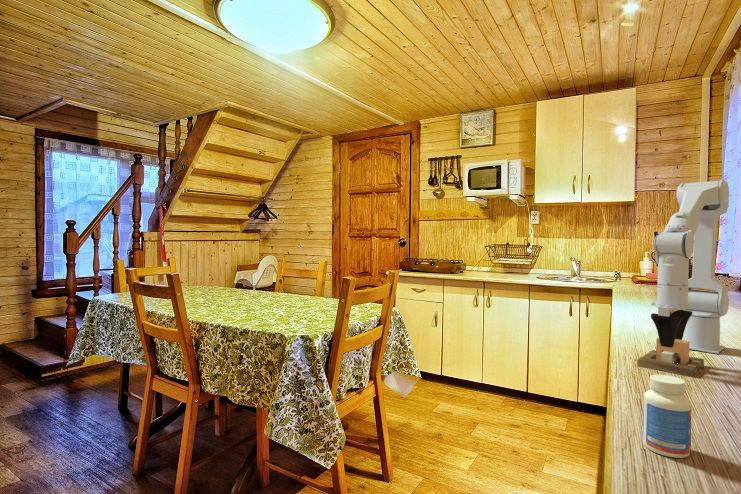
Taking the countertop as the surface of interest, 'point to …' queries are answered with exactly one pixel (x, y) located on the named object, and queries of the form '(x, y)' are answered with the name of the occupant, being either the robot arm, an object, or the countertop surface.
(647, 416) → the pill bottle
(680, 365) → the brown rectangular frame
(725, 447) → the countertop surface
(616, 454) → the countertop surface
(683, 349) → the orange block
